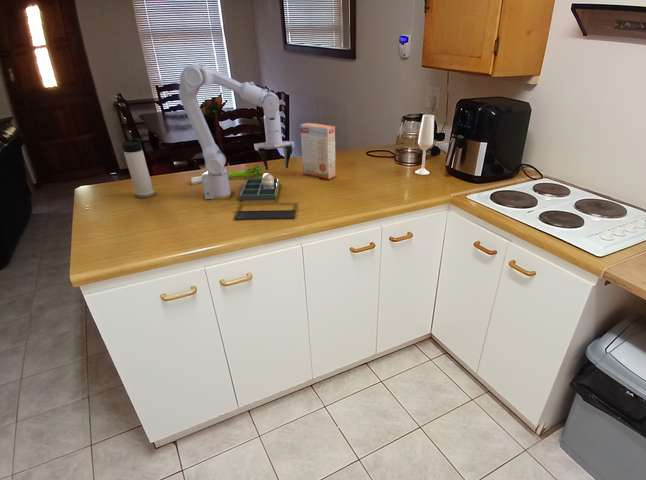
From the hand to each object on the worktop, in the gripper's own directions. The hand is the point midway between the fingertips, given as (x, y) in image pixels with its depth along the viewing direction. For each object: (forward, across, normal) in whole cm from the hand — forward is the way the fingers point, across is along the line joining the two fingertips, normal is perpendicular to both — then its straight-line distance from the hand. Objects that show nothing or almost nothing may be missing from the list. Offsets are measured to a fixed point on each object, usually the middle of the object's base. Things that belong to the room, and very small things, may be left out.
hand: (276, 168), depth 154 cm
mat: (+10, -8, -17) cm, 21 cm away
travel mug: (+10, -48, +15) cm, 52 cm away
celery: (+10, -16, +22) cm, 29 cm away
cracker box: (+10, +22, +17) cm, 30 cm away
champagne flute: (+10, +68, +6) cm, 69 cm away
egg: (+9, -3, +2) cm, 10 cm away
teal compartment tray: (+10, -6, +3) cm, 12 cm away
